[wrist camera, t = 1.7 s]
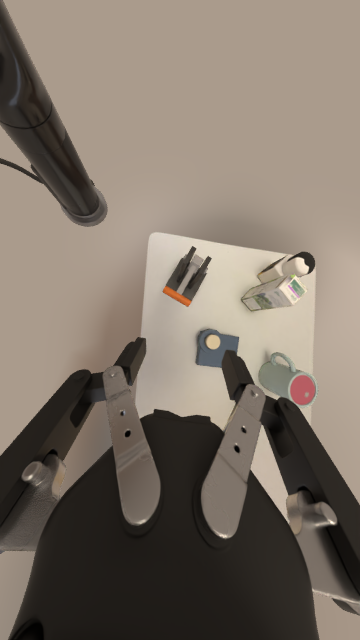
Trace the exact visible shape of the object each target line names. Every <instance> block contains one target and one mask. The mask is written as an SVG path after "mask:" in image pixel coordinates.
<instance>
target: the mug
mask: <svg viewBox="0 0 360 640" xmlns="http://www.w3.org/2000/svg"><path fill="white" fill-rule="evenodd" d="M276 356H280V357H282V358H283V359H285V360H286V361H287V363H288V364H289V366H290V367H288V366H285V365H282V364H279V363H276V362H275V357H276ZM270 359H271V362H267V363H265V364H264V365H263V366H262V367H261V369H260V372H259V380H260V383H261V384H262V385H263V386H264V387H265V388H267V389H268V390H270V391H272V392H273V393H275V394H277V395H278V396H280V397H285V398H287V399H289V400H291V401H292V402H294V403H295V404H296V405H297V406H298V407H300V408H305V407H308V406H310V405H311V404H312V403H313V402H314V401H315V399H316V397H317V394H318V385H317V382H316V380H315V378H314V377H313V376H312V375H311V374H309V373H306V372H303V371H300V370H297V369H296V368H295V365H294V363H293V362H292V360H291V359H290V358H289V357H287V356H286V355H284V354H282V353H279V352H276V353H273V354H272V355H271V358H270Z"/></svg>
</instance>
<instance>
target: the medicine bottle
mask: <svg viewBox="0 0 360 640" xmlns="http://www.w3.org/2000/svg"><path fill="white" fill-rule="evenodd" d="M314 267H315V260H314V258H313V256H312V255H311V254H310V253H308V252H301V253H299V254H296V255H295V256H293V257H292V255H291V254H289V255H287V256H285V257H283V258H282V259H280V260H278V261H276V262H274V263H273V264H271V265H270V266H268V267H267V268H266V269H265V270H263V271H262V272H261V273H260V274H258V277H259V279H260V280H261V282H262V283H263V284H264V283H266V282H269V281H271V280H274V279H276V278H279V277H281V276H284V275H286V274H289V273H292V272H293V273H294V274H295V275H296V276H297V278H298V277H301V276H304V275H306V274H309V273H311V272H312V271H313V269H314Z"/></svg>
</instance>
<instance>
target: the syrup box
mask: <svg viewBox="0 0 360 640" xmlns="http://www.w3.org/2000/svg"><path fill="white" fill-rule="evenodd" d="M306 291H307V288H306V287H305V286H304V285H303V284H302V282H301V281H300V280H299V279H298V278H297V276H296V275H295V274H294V273H293V272H292V273H289V274H286V275H284V276H281V277H279V278H276V279H274V280H271V281H269V282H266V283H264V284H261V285H259V286H256V287H253V288H251V289H250V290H249V291H248V293H247V294H246V295H245V296H244V297H243V298H242V299H241V300H242V301H243V302H244V303H245V304H246V306H247V307H248V308H249V309H250V310H251V311H257V310H265V309H273V308H280V307H288V306H293V305H294V304H295V303H296V302H297V301H298V300H299V299H300V298H301V297H302V296H303V295H304V294H305V292H306Z"/></svg>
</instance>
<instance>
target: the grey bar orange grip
mask: <svg viewBox="0 0 360 640" xmlns="http://www.w3.org/2000/svg"><path fill="white" fill-rule="evenodd" d="M202 262H203V259H202V258H200V257H199V256H197V255H195V256H194V258H193V259H192V261H191V263H190V265H189V267H188V270H189V271H188V273H187V275H186V276H185V278H184V280H183V281H182V283H181V285H180V286H179V288H178V290H177V292H176V291H174V290H172V289H171V288H169V287H167V286H165V288H164V290H163V293H165V294H167V295H168V296H170V297H172V298H174V299H175V300H177V301H179V302H180V303H182V304H184V305H186V306H187V307H188V306H189V305H190V303H191V300H189V299H188V298H186V297H184V296H182V293H183V291H184V289H185V287H186V286H187V284H188V282H189V280H190V278H191V276H192V275H193V273H195V274H196V272H197V270H198V269H199V267H200V265H201V264H202Z"/></svg>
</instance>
